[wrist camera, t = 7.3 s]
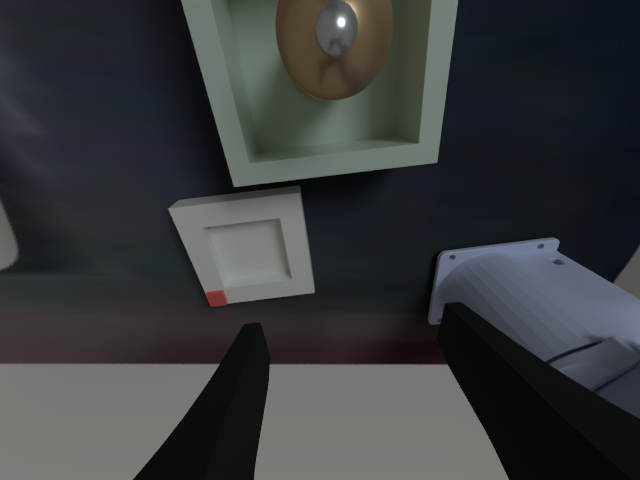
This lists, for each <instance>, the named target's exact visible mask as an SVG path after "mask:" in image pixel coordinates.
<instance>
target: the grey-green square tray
mask: <svg viewBox="0 0 640 480" xmlns="http://www.w3.org/2000/svg"><path fill="white" fill-rule="evenodd" d="M278 1H279V0H181V2H182V5H183V9H184V12H185V16H186V19H187V23H188V26H189V30H190V33H191V37H192V40H193V44H194V48H195V51H196V55H197V58H198V62H199V65H200V69H201V72H202V76H203V79H204V83H205V86H206V90H207V93H208V97H209V100H210V104H211V108H212V111H213V115H214V118H215V122H216V125H217V129H218V132H219V136H220V139H221V143H222V146H223V150H224V153H225V157H226V160H227V164H228V168H229V171H230V175H231V178H232V182H233V185H234V187H239V186H248V185H256V184H264V183H272V182H281V181H289V180H297V179H305V178H314V177H322V176H330V175H338V174H347V173H355V172H363V171H371V170H380V169H388V168H396V167H404V166H413V165H421V164H429V163H437V159H438V151H439V144H440V136H441V128H442V121H443V113H444V105H445V97H446V90H447V82H448V74H449V67H450V59H451V51H452V43H453V36H454V28H455V20H456V13H457V5H458V0H390V1H391V7H392V15H393V31H392V39H391V44H390V48H389V52H388V55H387V58H386V60H385V62H384V64H383V66H382V68H381V70H380V71H379V73H378V75H377V76H376V77H375V79H374V80H373V81H372V82H371V83H370V84H369V85H368V86H367V87H366V88H365V89H363V90H362V91H361V92H359V93H357V94H356V95H354V96H351V97H349V98H346V99H342V100H329V101H317V100H313V99H310V98H308V97H306V96H304V95H303V94H301V93H300V92H299V91H298V90H297V88H296V87H295V86H294V84H293V83H292V81H291V79H290V77H289V75H288V72H287V70H286V68H285V66H284V64H283V61H282V59H281V56H280V53H279V49H278V46H277V39H276V29H275V22H276V11H277V5H278Z"/></svg>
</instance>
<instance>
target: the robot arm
mask: <svg viewBox="0 0 640 480" xmlns="http://www.w3.org/2000/svg"><path fill="white" fill-rule="evenodd" d="M558 245H559V240H557V239H555V238H544V239H536V240H528V241H520V242H512V243H504V244H496V245H488V246H480V247H472V248H463V249H455V250H447V251H442V252H441V253H440V254H439V255H438V258H437V264H436V270H435V276H434V283H433V289H432V295H431V301H430V308H429V314H428V322H429V323H430V324H431V325H436V324H440V327H439V332H438V336H437V340H438V343H439V345H440V347H441V350H442V352H443V355H444V357H445V359H446V361H447V364H448V366H449V367H450V369H451V371H452V373H453V375H454V376H455V378H456V380H457V382H458V383H459V385H460V387H461V389H462V390H463V392H464V394H465V396H466V398H467V399H468V401H469V403H470V405H471V406H472V408H473V410H474V412H475V413H476V415H477V417H478V419H479V420H480V422H481V424H482V426H483V427H484V429H485V431H486V433H487V435H488V436H489V439H490V440H491V442H492V444H493V446H494V448H495V451H496V453H497V455H498V457H499V459H500V461H501V463H502V465H503V467H504V470H505V472H506V474H507V476H508V478H509V480H640V300H639V299H637V298H636V297H634V296H632V295H631V294H629V293H627V292H626V291H624V290H622V289H621V288H619V287H617V286H615V285H614V284H612V283H610V282H609V281H607V280H605V279H603V278H602V277H600V276H598V275H597V274H595V273H593V272H592V271H590V270H588V269H586V268H585V267H583V266H581V265H580V264H578V263H576V262H574V261H573V260H571V259H569V258H568V257H566V256H564V255H563V254H561V253H559V252H557V251H556V250H557V248H558ZM451 255H453V256H452V257H450V256H451ZM449 257H450V258H449ZM269 366H270V355H269V351H268V348H267V344H266V341H265V337H264V333H263V330H262V326H261V323H252V324H245V325H244V326H243V327H242V328H241V330H240V332H239V334H238V335H237V337H236V339H235V341H234V342H233V344H232V346H231V347H230V349H229V351H228V352H227V354H226V356H225V357H224V359H223V360H222V362H221V364H220V365H219V367H218V368H217V370H216V371H215V373H214V374H213V376H212V378H211V379H210V381H209V382H208V384H207V385H206V387H205V388H204V389H203V391H202V392H201V394H200V395H199V396H198V398H197V399H196V401H195V402H194V404H193V405H192V406H191V408H190V409H189V411H188V412H187V413H186V415H185V416H184V417H183V419H182V420H181V421H180V423H179V424H178V425H177V427H176V428H175V429H174V431H173V432H172V433H171V434H170V436H169V437H168V438H167V440H166V441H165V442H164V443H163V445H162V446H161V447H160V448H159V449H158V451H157V452H156V453H155V454H154V455H153V457H152V458H151V459H150V460H149V461H148V463H147V464H146V465H145V466H144V467H143V468H142V470H141V471H140V472H139V473H138V474H137V476H136V477H135V478H134V479H133V480H254V470H255V462H256V456H257V450H258V444H259V438H260V432H261V426H262V420H263V414H264V408H265V402H266V396H267V390H268V382H269Z"/></svg>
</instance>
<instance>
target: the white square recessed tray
mask: <svg viewBox="0 0 640 480" xmlns="http://www.w3.org/2000/svg"><path fill="white" fill-rule="evenodd" d="M168 209H169V212H170V214H171V216H172V219H173V221H174V223H175V225H176V228H177V230H178V232H179V234H180V237H181V239H182V241H183V244H184V246H185V248H186V250H187V253H188V255H189V257H190V260H191V262H192V264H193V266H194V269H195V271H196V273H197V275H198V278H199V280H200V282H201V285H202V287H203V289H204V291H205V294H206V297H207V299H208V302H209V304H210V306H211V307H214V306H222V305H227V304H228V303H236V302H244V301H252V300H260V299H268V298H276V297H284V296H292V295H300V294H308V293H315V289H314V278H313V271H312V264H311V258H310V251H309V244H308V237H307V230H306V223H305V217H304V210H303V203H302V196H301V189H300V185H299V186H290V187H282V188H274V189H266V190H257V191H249V192H241V193H233V194H224V195H216V196H208V197H200V198H192V199H183V200H178V201H177V202H176V203H175V204H173V205H172V206H171V207H170V208H168Z"/></svg>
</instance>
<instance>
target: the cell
mask: <svg viewBox="0 0 640 480" xmlns="http://www.w3.org/2000/svg"><path fill="white" fill-rule="evenodd" d="M275 29H276V39H277V46H278V49H279V53H280V56H281V59H282V61H283V64H284V66H285V68H286V70H287V72H288V75H289V77H290V79H291V81H292V83H293V84H294V86H295V87H296V88H297V90H298V91H299V92H300V93H301V94H303V95H304V96H306V97H308V98H310V99H313V100H317V101H329V100H342V99H346V98H349V97H351V96H354V95H356V94H357V93H359V92H361V91H362V90H363V89H365V88H366V87H367V86H368V85H369V84H370V83H371V82H372V81H373V80H374V79H375V77H376V76H377V75H378V73H379V71H380V70H381V68H382V66H383V64H384V62H385V60H386V58H387V55H388V52H389V48H390V44H391V39H392V31H393V15H392V7H391V1H390V0H279V1H278V5H277V11H276V22H275Z"/></svg>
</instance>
